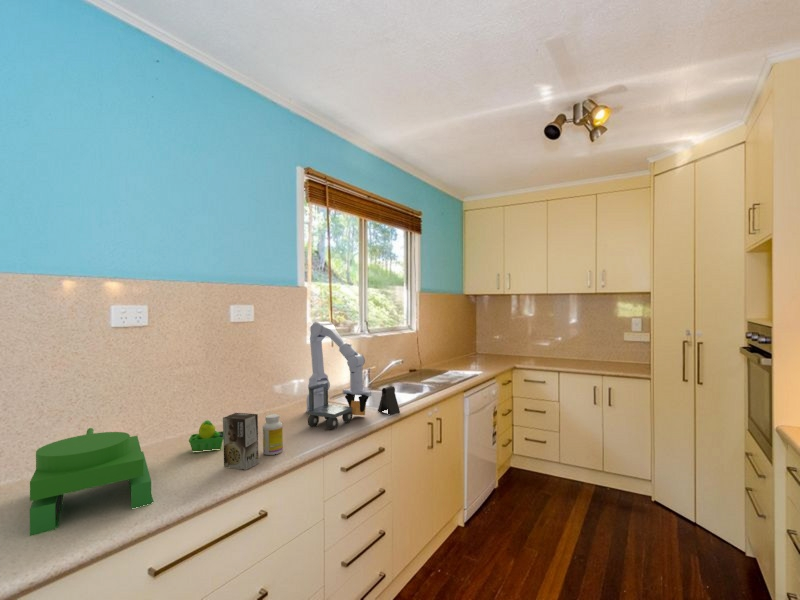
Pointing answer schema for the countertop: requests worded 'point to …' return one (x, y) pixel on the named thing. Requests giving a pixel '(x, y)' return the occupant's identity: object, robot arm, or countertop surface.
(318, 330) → the robot arm
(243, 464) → the coffee box
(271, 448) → the supplement bottle
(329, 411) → the trolley
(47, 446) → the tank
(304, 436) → the countertop surface
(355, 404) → the wheel chock
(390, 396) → the black triangular stand
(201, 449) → the fruit basket
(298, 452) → the countertop surface
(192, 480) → the countertop surface
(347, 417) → the trolley wheels
